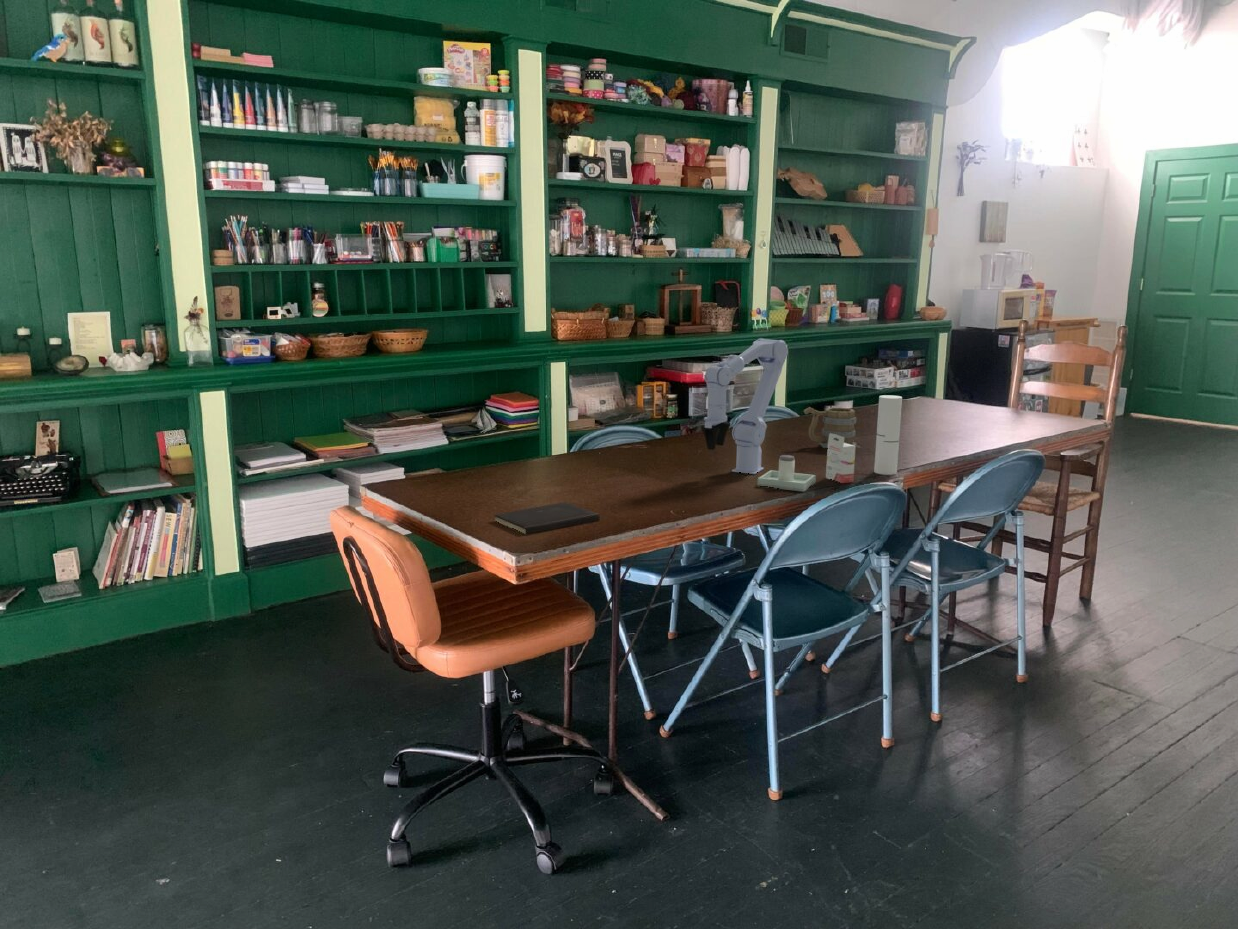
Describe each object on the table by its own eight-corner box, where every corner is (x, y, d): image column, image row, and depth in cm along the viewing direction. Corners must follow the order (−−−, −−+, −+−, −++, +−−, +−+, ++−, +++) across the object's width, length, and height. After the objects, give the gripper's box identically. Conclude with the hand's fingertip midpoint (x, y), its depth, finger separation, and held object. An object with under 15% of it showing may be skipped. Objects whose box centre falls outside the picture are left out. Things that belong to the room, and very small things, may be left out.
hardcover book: (493, 523, 247) (493, 514, 247) (566, 509, 261) (566, 501, 261) (526, 537, 235) (525, 528, 235) (599, 522, 249) (599, 514, 248)
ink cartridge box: (854, 482, 293) (857, 436, 290) (841, 483, 291) (844, 437, 288) (837, 476, 301) (840, 431, 298) (824, 477, 299) (827, 432, 296)
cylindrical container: (881, 468, 312) (886, 394, 307) (900, 472, 307) (906, 396, 302) (870, 472, 307) (875, 396, 302) (889, 475, 303) (895, 399, 297)
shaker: (776, 480, 292) (778, 454, 290) (792, 480, 292) (793, 455, 290) (779, 483, 287) (780, 458, 285) (794, 483, 287) (796, 458, 285)
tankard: (850, 443, 355) (852, 404, 352) (859, 450, 343) (862, 409, 340) (797, 443, 355) (799, 404, 352) (805, 450, 343) (807, 409, 339)
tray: (770, 477, 298) (770, 470, 298) (815, 483, 292) (815, 475, 291) (757, 486, 287) (757, 478, 287) (804, 491, 281) (804, 483, 280)
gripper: (713, 400, 301) (712, 442, 304) (696, 406, 288) (695, 449, 291) (734, 402, 298) (732, 444, 301) (717, 408, 285) (716, 452, 288)
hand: (715, 447), depth 296 cm, fingers open, 7 cm apart
